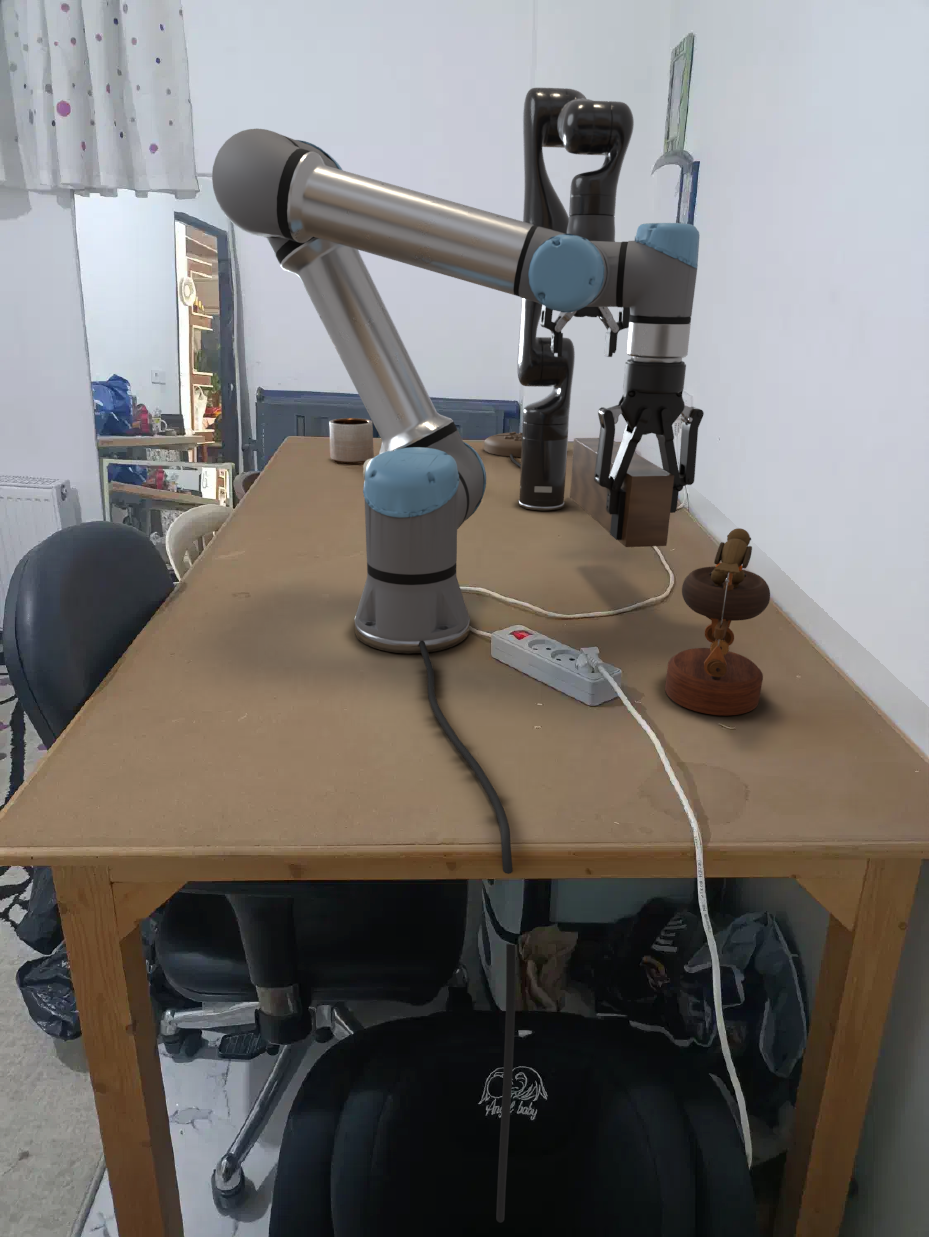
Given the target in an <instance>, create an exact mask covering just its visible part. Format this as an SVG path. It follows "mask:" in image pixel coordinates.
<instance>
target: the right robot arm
mask: <svg viewBox="0 0 929 1237" xmlns="http://www.w3.org/2000/svg"><path fill="white" fill-rule="evenodd" d="M634 120H635V119H634V115H633V112H632V110H631V108H630V106H629V105H628V104H627V103H625V102H623V101H612V100H611V101H610V100H593V99H589V98H587V97H586V95H584V94H583V93H582V92H581V91H579V90H577V89H574V88H565V87H564V88H563V87H562V88H561V87H531V88H530V89H529V90H528V91H527V93H526V95H525V98H524V103H523V111H522V140H523V141H522V142H523V143H522V144H523V172H524V173H523V177H524V178H523V180H524V183H523V184H524V185H523V186H524V187H523V188H524V190H523V210H522V212H523V214H522V221H523V222H526V223H530V224H533V225H535V226H538V227H543V228H547V229H551V230H554V231H558V232H561V233H565V234H573V235H577V236H580V237H583V238H585V239H588V240H589V241H605V242H616V222H615V221H616V217H615V216H616V206H617V205H616V204H617V193H618V192H617V191H618V184H619V179H620V174H621V171H622V168H623V163H624V160H625V158H626V154H627V151H628V148H629V145H630V143H631V140H632V136H633V132H634V126H635V121H634ZM543 148H559V149H561V148H562V149H565V151H566V152H567V153H569V154H572V155H580V156H581V155H582V156H604V160H603V163H602V164H601V167H599V168H598V169H595V170H591V171H585V172H581V173H577V174H576V175H575V176H573V177H572V180H571V182H570V191H569V208H568V212H569V213H568V212H567V210H566V208H565V206H564V204H563V203H562V200H561V198H560V197H559V195H558V193H557V191H556V189H555V188H554V186H553V183H552V182H551V179H550V176H549V174H548V172H547V168H546V163H545V157H544V151H543ZM520 304H521V305H520V307H521V308H520V319H519V320H520V321H519V330H518V331H519V333H518V344H517V360H516V368H517V369H516V370H517V371H516V372H517V378H518V381H519V383H520V385H521V386H524V387H542V388H543V387H545V388H546V387H548V388H549V387H552V390H551V391H550V393H549V394H548V395H547V396H545V397H543V398H542V399H540V400H537V401H534V402H532V403H528V404H527V405H525V406H524V407H523V410H522V423H521V424H522V426H521V433H522V449H521V457H520V462H518V461H517V460H516V459H515V457H513V454H510V456H509V458H510V459H511V461H512V462H513V463H514V464H515V465H516V466H518V467H519V468H520V474H519V480H520V481H519V496H518V497H519V498H518V506H520V507H521V508H523V509H527V510H530V511H540V512H541V511H542V512H543V511H545V512H546V511H547V512H548V511H550V512H551V511H557V510H561V509H563V508H564V507H565V489H566V475H567V474H566V473H567V461H568V460H567V458H568V444H569V426H570V410H571V399H572V389H573V380H574V372H575V360H576V352H575V345H574V342H573V341H572V339H571V338H569V337H564V333H563V332H562V330H563V329H564V328H565V327H566V325H567V324H568V323H569V322H570V321H571V320H572V319H573V317H575V318H585V317H587V318H598V319H599V320H600V321H601V322H602V324H603V325H604V327H605V329H606V330H607V332H605V338H604V352H603V354H604V357H606V358H612V357H613V356H614V355H613V354H615V353H616V352H617V347H618V346H617V345H618V336H619V335H618V334H619V332H620V331H622V330H625V329H629V322H630V321H629V317H630V307H617V321H616V320H615V319H614V315H613V313H612V312H611V310H610V308H609V307H584V308H581V309H579V310H577V311H574V312H567V313H566V312H560V311H559V314H558V315H557V318H556V319H555V320H554V321H553V313H554V310H551V309H549V308H547V307H545V306H544V305H542V304H539V303H538V302H534V301H531V300H527V299H524V298H521V303H520ZM539 324H540V327H542V328H544V329H547V330H549V331H550V333H551V336H537V334H538V329H539V328H538V327H539Z"/></svg>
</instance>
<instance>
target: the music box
mask: <svg viewBox="0 0 929 1237" xmlns="http://www.w3.org/2000/svg"><path fill="white" fill-rule="evenodd" d="M726 537H727V538H726V541H725V542H723V541H722V542H720V544H719V545H718V549H717V550H716V554H715V557H714V562H713V564H714V565H715V566H704V567H699V568H696V569H694V570H692V571H691V572H690V573H689V574H688V575H687V576H686V577H685V578H684V580H683V582H682V586H681V595H682V598H683V601H684V603H685V605H686V606H687V607H688V608H689V609H691V610H692V611H693V612H695V613H697V614H699V615H700V616H703V617H706V618H707V619H709V620H710V621H711V622H710V623H709V624H708V625H707V626H706V627H705V628H704V637H705V640H707V641H708V642H709V643H711V644H710V647H695V648H689V649H685V650H682V651H680V652H678V653H676V654H675V655H673V656H672V657H671V658H670V659H669V660H668V662H667V667H666V668H667V669H666V675H665V676H666V677H665V686H664V691H665V694H666V695H667V696H668V698H669V699H671V700H672V701H673V702H674V703H676V704H678V705H679V706H681V707H683V708H686V709H688V710H691V711H694V712H697V713H701V714H706V715H712V716H738V715H742V714H746V713H749V712H751V711H753V710H754V709H756V708H757V707H758V705H759V703H760V698H761V691H762V685H763V680H764V673H763V672H762V670H761V669H760V668H759V666H757V665H756V663H755V662H753V661H752V660H751V659H749V657H747V656H744V655H742V654H740V653H736V652H734V651H730V646H731V645H732V644H733V643H734V641H735V634H734V631H733V630H732V629H731V628H730V626H731V623H732V621H737V622H738V621H746V620H751V619H754V618H756V617H758V616H759V615H761V614H762V613H763V612H764V611H765V610H766V609H767V608H768V606H769V603H770V600H771V590H770V587H769V585H768V582H766V580H765V579H764V578H763V577H762V576H761V575H759V574H757V573H754V572H752V571H749V570H747V568H748V566H749V563H750V561H751V557H752V553H753V552H752V551H753V546H751V545H750V542H751V541H752V537H751V535H750V533H749V532H748V530H746V529H744V528H739V527H737V528H733V529H732V530H731V531H730V532H729V533H728V534H727V535H726Z"/></svg>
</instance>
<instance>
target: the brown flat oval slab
mask: <svg viewBox="0 0 929 1237" xmlns="http://www.w3.org/2000/svg"><path fill="white" fill-rule="evenodd" d="M521 449H522V431H521V432H518V433H517V432H516V431H511V432H502V433H498V434H493V435H490V436H488V437H487V438H485V439H484V443H483V450H484V451H485V452H486V453H489V454H492V455H496V456H501V457H502V456H503V457H510V454H513V458H515V457H517V458H521Z"/></svg>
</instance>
